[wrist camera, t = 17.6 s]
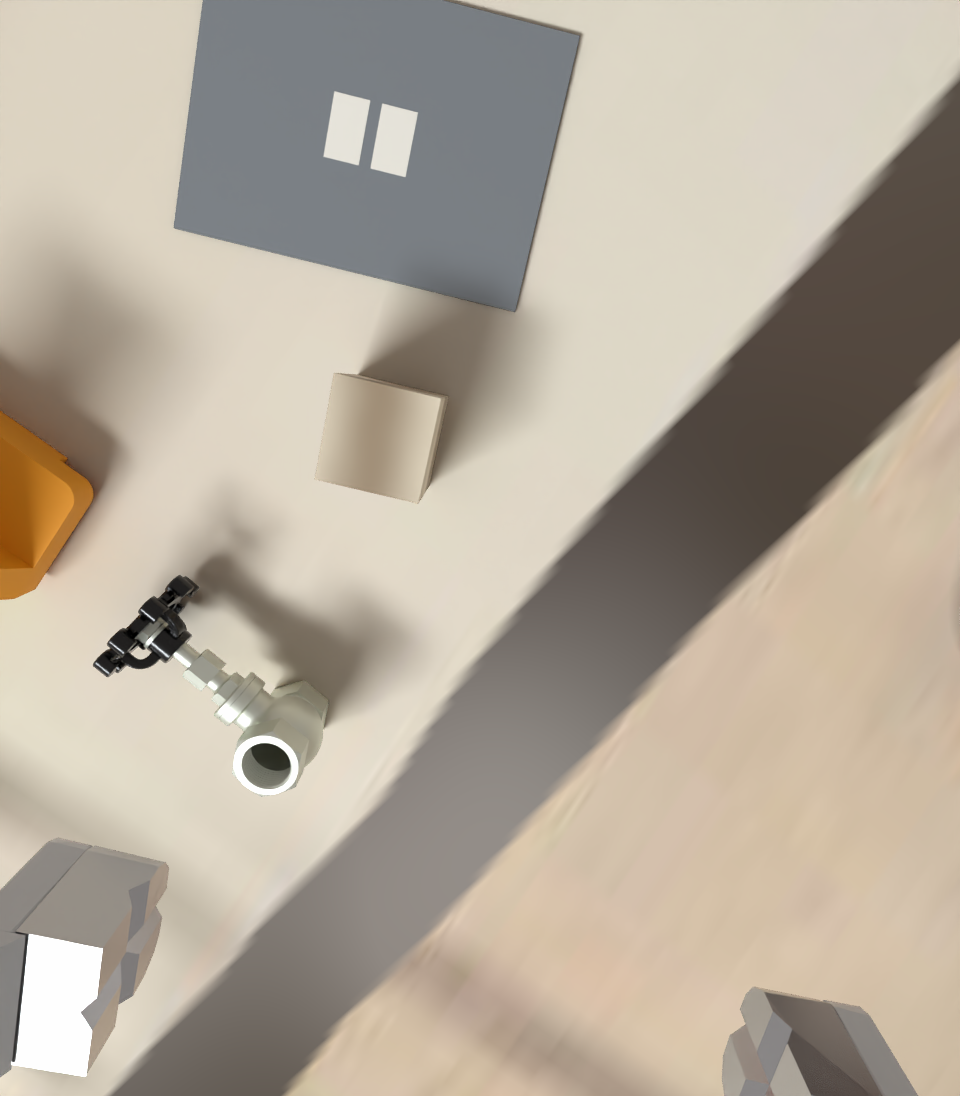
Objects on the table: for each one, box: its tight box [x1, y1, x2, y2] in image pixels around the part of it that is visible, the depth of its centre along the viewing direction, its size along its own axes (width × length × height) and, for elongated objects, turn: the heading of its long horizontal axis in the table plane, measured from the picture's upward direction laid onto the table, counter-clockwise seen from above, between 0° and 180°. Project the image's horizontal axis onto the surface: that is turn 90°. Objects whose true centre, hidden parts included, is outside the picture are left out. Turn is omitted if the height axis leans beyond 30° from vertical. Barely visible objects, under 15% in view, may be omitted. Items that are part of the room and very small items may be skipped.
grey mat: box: [174, 0, 580, 312], centre depth 36 cm, size 18×13×1 cm
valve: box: [93, 575, 329, 797], centre depth 39 cm, size 7×7×12 cm
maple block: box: [315, 373, 449, 503], centre depth 36 cm, size 5×5×6 cm
